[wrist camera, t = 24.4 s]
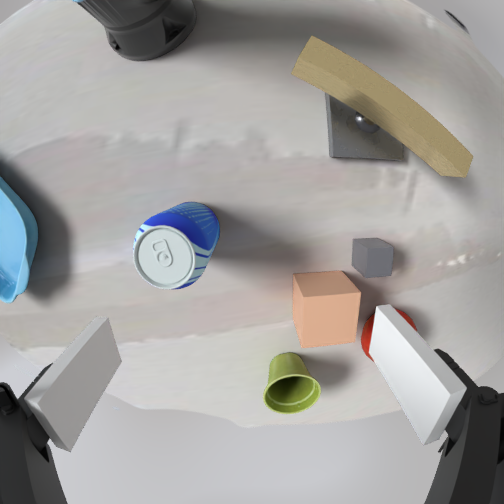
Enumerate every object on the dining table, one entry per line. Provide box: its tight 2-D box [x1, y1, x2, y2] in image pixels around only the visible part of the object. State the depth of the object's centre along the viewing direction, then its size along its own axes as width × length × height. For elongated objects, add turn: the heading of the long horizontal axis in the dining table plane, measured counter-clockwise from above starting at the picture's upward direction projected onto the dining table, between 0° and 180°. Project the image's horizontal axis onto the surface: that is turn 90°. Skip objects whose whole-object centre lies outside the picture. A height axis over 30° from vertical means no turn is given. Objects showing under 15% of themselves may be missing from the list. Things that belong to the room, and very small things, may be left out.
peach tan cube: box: [293, 271, 361, 348], centre depth 41 cm, size 8×8×9 cm
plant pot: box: [263, 353, 321, 414], centre depth 45 cm, size 9×9×9 cm
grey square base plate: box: [325, 92, 404, 161], centre depth 37 cm, size 12×12×2 cm
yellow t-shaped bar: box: [291, 36, 473, 178], centre depth 31 cm, size 26×4×10 cm, turn 63°
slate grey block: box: [352, 238, 394, 278], centre depth 41 cm, size 4×4×6 cm
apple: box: [361, 309, 417, 362], centre depth 42 cm, size 10×10×10 cm
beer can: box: [133, 202, 220, 289], centre depth 35 cm, size 8×8×16 cm
